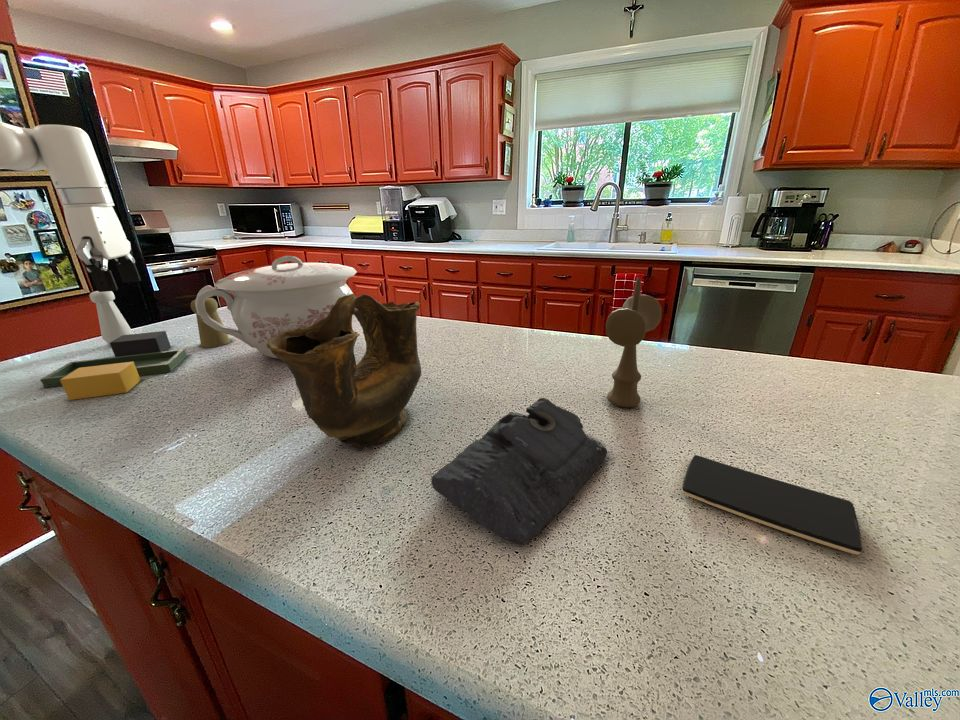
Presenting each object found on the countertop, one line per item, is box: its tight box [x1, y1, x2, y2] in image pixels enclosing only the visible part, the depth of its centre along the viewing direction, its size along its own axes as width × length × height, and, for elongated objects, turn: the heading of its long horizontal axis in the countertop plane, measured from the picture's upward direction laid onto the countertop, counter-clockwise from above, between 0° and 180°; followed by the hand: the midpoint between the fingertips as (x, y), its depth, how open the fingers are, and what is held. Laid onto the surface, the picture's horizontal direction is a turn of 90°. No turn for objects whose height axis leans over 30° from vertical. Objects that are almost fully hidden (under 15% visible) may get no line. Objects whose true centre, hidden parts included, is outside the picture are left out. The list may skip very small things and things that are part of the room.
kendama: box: [605, 276, 663, 408], centre depth 60 cm, size 6×10×20 cm, turn 145°
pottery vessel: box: [267, 293, 422, 447], centre depth 55 cm, size 25×11×20 cm, turn 159°
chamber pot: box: [195, 255, 358, 359], centre depth 86 cm, size 28×28×21 cm
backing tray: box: [40, 348, 188, 388], centre depth 81 cm, size 21×9×2 cm, turn 107°
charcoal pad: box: [109, 330, 172, 357], centre depth 90 cm, size 8×6×4 cm, turn 107°
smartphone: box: [681, 454, 863, 556], centre depth 42 cm, size 7×1×15 cm
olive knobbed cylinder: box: [190, 297, 231, 349], centre depth 93 cm, size 6×6×11 cm
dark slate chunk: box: [431, 397, 608, 545], centre depth 48 cm, size 15×22×5 cm
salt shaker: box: [89, 290, 134, 347], centre depth 95 cm, size 6×6×13 cm
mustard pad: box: [60, 362, 142, 401], centre depth 72 cm, size 8×6×4 cm, turn 107°
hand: (120, 286), depth 83 cm, fingers open, 9 cm apart
